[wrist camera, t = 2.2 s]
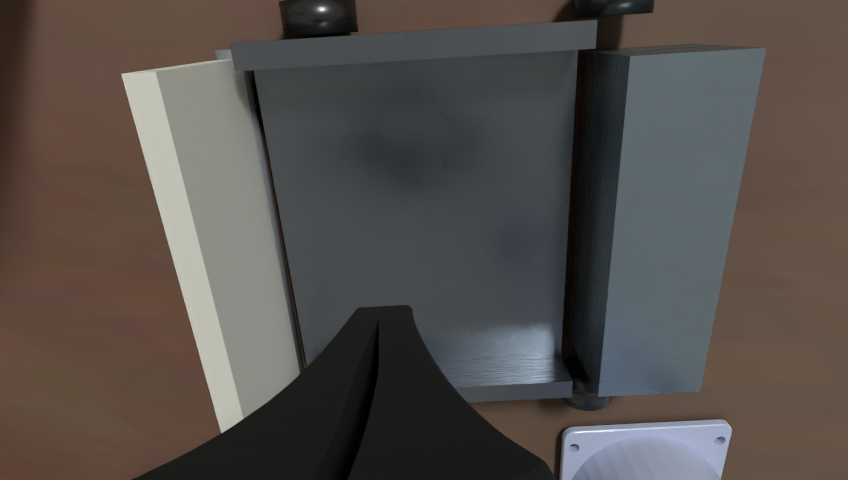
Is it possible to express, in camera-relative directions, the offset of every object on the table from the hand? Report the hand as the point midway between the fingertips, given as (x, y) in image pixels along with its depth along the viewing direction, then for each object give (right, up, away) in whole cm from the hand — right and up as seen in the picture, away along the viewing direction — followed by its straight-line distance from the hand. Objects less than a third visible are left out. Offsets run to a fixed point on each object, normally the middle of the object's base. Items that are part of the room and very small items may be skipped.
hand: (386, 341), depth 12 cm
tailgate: (-5, +3, +7) cm, 10 cm away
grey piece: (+3, +3, +8) cm, 9 cm away
